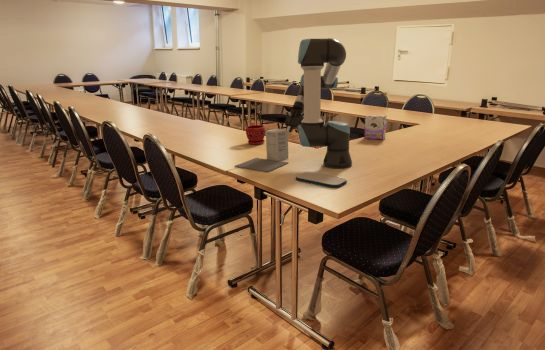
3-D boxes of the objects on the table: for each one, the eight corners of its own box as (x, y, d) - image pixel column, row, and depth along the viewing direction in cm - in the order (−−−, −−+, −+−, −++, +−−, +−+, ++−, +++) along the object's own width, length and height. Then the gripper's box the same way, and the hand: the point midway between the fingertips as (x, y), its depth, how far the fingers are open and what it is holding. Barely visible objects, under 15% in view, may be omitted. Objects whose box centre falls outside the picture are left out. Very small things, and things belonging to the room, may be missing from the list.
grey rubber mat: (288, 163, 211) (288, 162, 211) (268, 172, 196) (268, 171, 195) (256, 158, 223) (256, 157, 223) (234, 166, 207) (234, 165, 207)
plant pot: (252, 141, 272) (251, 124, 269) (268, 142, 266) (268, 125, 263) (242, 144, 261) (241, 127, 258) (259, 146, 255) (258, 128, 252)
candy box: (385, 138, 268) (387, 115, 264) (383, 140, 264) (384, 116, 259) (366, 137, 275) (367, 114, 271) (363, 138, 271) (364, 115, 266)
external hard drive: (293, 180, 182) (293, 176, 182) (306, 175, 191) (306, 171, 190) (336, 190, 168) (336, 185, 168) (349, 183, 177) (349, 179, 176)
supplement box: (288, 158, 222) (288, 129, 217) (278, 161, 216) (277, 132, 211) (276, 156, 228) (276, 128, 224) (266, 159, 222) (265, 130, 217)
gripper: (311, 109, 234) (298, 140, 226) (293, 108, 241) (279, 138, 233) (307, 101, 229) (293, 133, 220) (288, 100, 236) (274, 131, 227)
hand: (286, 136), depth 227 cm, fingers closed
